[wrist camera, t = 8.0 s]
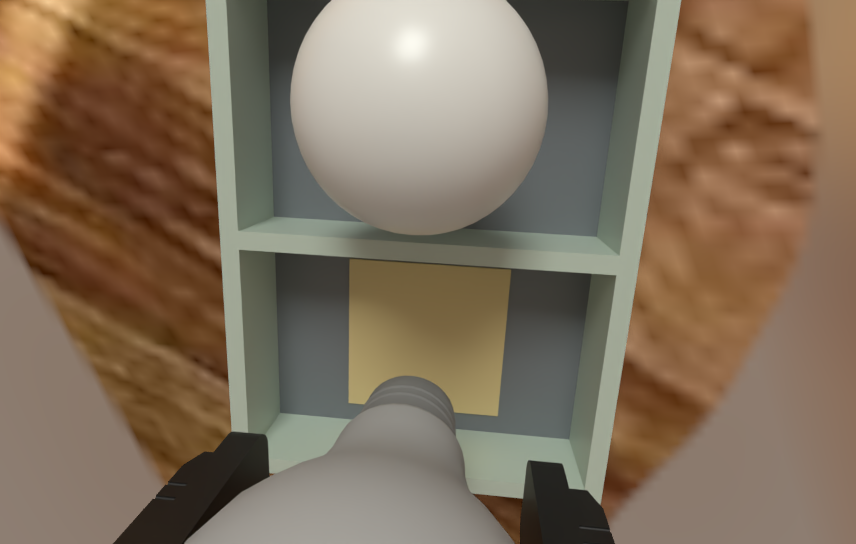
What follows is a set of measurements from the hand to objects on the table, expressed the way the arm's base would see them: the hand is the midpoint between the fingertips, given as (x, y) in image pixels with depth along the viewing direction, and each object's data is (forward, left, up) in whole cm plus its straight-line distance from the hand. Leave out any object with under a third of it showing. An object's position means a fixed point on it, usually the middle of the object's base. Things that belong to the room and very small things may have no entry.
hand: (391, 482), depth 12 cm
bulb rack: (0, +4, -10) cm, 11 cm away
